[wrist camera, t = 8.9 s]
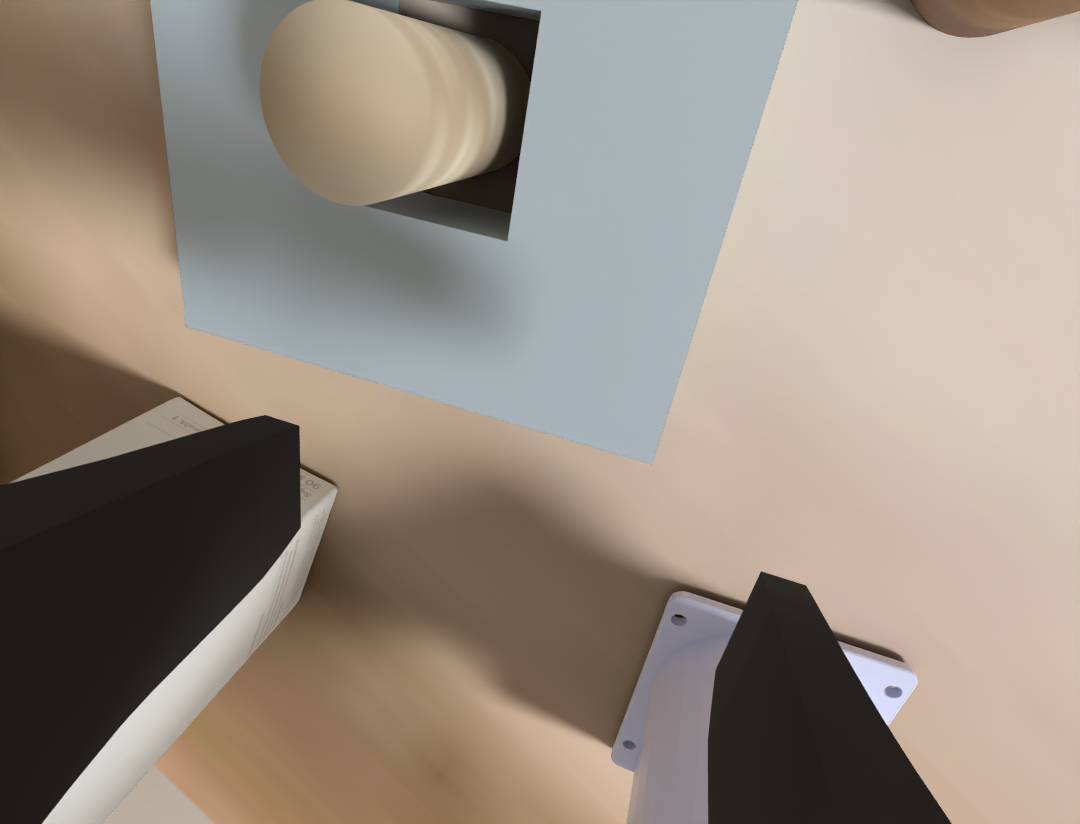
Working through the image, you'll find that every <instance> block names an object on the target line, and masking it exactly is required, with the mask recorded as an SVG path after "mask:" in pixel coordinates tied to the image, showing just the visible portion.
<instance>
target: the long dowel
mask: <svg viewBox="0 0 1080 824" xmlns="http://www.w3.org/2000/svg"><path fill="white" fill-rule="evenodd" d="M530 85H531V84H530V81H529V78H528V76H527V74H526V72H525V70H524V68H523V66H522V65H521V63H520V62H519V61H518V59H517V58H516V57H515V56H514V55H513V54H512V53H511V52H510V51H509V50H508V49H506V48H505V47H504V46H502V45H500V44H499V43H497V42H494V41H492V40H489V39H486V38H482V37H478V36H475V35H471V34H468V33H464V32H460V31H457V30H453V29H450V28H446V27H442V26H439V25H435V24H432V23H428V22H424V21H421V20H417V19H414V18H410V17H407V16H403V15H399V14H396V13H392V12H389V11H385V10H381V9H378V8H374V7H371V6H367V5H363V4H360V3H356V2H352V1H348V0H313V1H310V2H307V3H305V4H303V5H301V6H299V7H297V8H296V9H294V10H293V11H292V12H290V13H289V14H288V15H287V16H286V17H285V18H284V19H283V20H282V21H281V22H280V24H279V25H278V26H277V28H276V29H275V31H274V32H273V34H272V36H271V38H270V40H269V42H268V44H267V47H266V50H265V53H264V57H263V61H262V66H261V74H260V98H261V107H262V111H263V116H264V120H265V124H266V127H267V130H268V133H269V135H270V138H271V140H272V142H273V145H274V146H275V148H276V150H277V152H278V154H279V156H280V157H281V159H282V160H283V162H284V163H285V165H286V166H287V167H288V168H289V170H290V171H291V172H292V173H293V175H294V176H295V177H296V178H297V179H298V180H299V181H300V182H301V183H302V184H304V185H305V186H306V187H308V188H309V189H310V190H311V191H313V192H314V193H316V194H318V195H319V196H321V197H323V198H325V199H328V200H330V201H332V202H336V203H339V204H343V205H350V206H364V205H370V204H374V203H378V202H382V201H385V200H389V199H393V198H396V197H400V196H404V195H408V194H411V193H415V192H419V191H422V190H426V189H430V188H433V187H437V186H441V185H444V184H448V183H452V182H455V181H459V180H463V179H466V178H470V177H474V176H477V175H481V174H485V173H488V172H492V171H495V170H498V169H500V168H502V167H504V166H506V165H507V164H509V163H510V162H511V161H512V160H514V159H515V158H516V157H517V156H518V154H519V153H520V152H521V146H522V139H523V133H524V126H525V119H526V112H527V106H528V99H529V92H530Z"/></svg>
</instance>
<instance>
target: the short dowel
mask: <svg viewBox="0 0 1080 824" xmlns="http://www.w3.org/2000/svg"><path fill="white" fill-rule="evenodd" d="M911 1H912V3H913V5H914V7H915V9H916V11H917V12H918V13H919V14H920V16H921V17H922V18H923V19H924V20H925V21H926V22H927V23H928V24H929V25H931V26H932V27H934V28H935V29H937V30H939V31H941V32H944V33H946V34H949V35H953V36H957V37H967V38H970V37H983V36H989V35H993V34H997V33H1001V32H1004V31H1008V30H1012V29H1015V28H1019V27H1023V26H1026V25H1030V24H1034V23H1037V22H1041V21H1044V20H1048V19H1052V18H1055V17H1059V16H1063V15H1066V14H1070V13H1073V12H1077V11H1080V0H911Z"/></svg>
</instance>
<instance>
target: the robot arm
mask: <svg viewBox="0 0 1080 824" xmlns="http://www.w3.org/2000/svg"><path fill="white" fill-rule="evenodd" d="M300 528H301V496H300V436H299V426H298V425H295V424H292V423H288V422H285V421H282V420H279V419H276V418H273V417H269V416H266V415H264V416H259V417H254V418H249V419H245V420H241V421H237V422H233V423H230V424H226V425H222V426H218V427H215V428H211V429H208V430H204V431H201V432H197V433H194V434H190V435H187V436H183V437H180V438H177V439H173V440H170V441H166V442H163V443H159V444H156V445H152V446H149V447H145V448H142V449H138V450H135V451H131V452H128V453H124V454H121V455H117V456H114V457H110V458H107V459H103V460H99V461H95V462H91V463H87V464H83V465H80V466H76V467H72V468H68V469H64V470H60V471H56V472H52V473H48V474H45V475H41V476H37V477H33V478H29V479H25V480H21V481H17V482H13V483H8V484H4V485H0V824H42V823H43V822H44V820H45V819H46V818H47V817H48V815H49V814H50V813H51V811H52V810H53V809H54V808H55V806H56V805H57V804H58V803H59V801H60V800H61V799H62V797H63V796H64V795H65V794H66V792H67V791H68V790H69V788H70V787H71V786H72V785H73V784H74V782H75V781H76V780H77V779H78V778H79V776H80V775H81V774H82V773H83V771H84V770H85V769H86V768H87V767H88V765H89V764H90V763H91V762H92V760H93V759H94V758H95V757H96V756H97V754H98V753H99V752H100V751H101V750H102V748H103V747H104V746H105V745H106V743H107V742H108V741H109V740H110V739H111V737H112V736H113V735H114V734H115V733H116V731H117V730H118V729H119V728H120V726H121V725H122V724H123V723H124V722H125V721H126V720H127V719H128V717H129V716H130V715H131V714H132V713H133V712H134V711H135V710H136V709H137V708H138V707H139V705H140V704H141V703H142V702H143V701H144V700H145V699H146V698H147V697H148V696H149V695H150V693H151V692H152V691H153V690H154V689H155V688H156V687H157V686H158V685H159V684H160V683H161V682H162V681H163V680H164V679H165V678H166V677H167V676H168V675H169V674H170V673H171V672H172V671H173V670H174V669H175V668H176V667H177V666H178V665H179V664H180V663H181V662H182V661H183V660H184V659H185V658H186V657H187V656H188V655H189V654H190V653H191V652H192V651H193V650H194V649H195V648H196V647H197V646H198V645H199V644H200V643H201V642H202V641H203V640H204V639H205V638H206V637H207V636H208V635H209V634H210V633H211V632H212V631H213V630H214V629H215V628H216V627H217V626H218V624H219V623H220V622H221V621H222V620H223V619H224V618H225V617H226V616H227V615H228V614H229V613H230V612H231V611H232V610H233V609H234V608H235V607H236V606H237V605H238V604H239V603H240V602H241V601H242V600H243V599H244V598H245V597H246V596H247V595H248V594H249V593H250V592H251V590H252V589H253V588H254V587H255V586H256V585H257V584H258V583H259V582H260V581H261V580H262V579H263V578H264V576H265V575H266V574H267V572H268V571H269V570H270V569H271V567H272V566H273V565H274V563H275V562H276V561H277V560H278V558H279V557H280V556H281V554H282V553H283V552H284V550H285V549H286V547H287V546H288V545H289V543H290V542H291V541H292V539H293V538H294V536H295V535H296V534H297V532H298V531H299V529H300ZM676 614H679V615H682V616H684V618H677V617H676V616H674V615H676ZM917 683H918V681H917V677H916V674H915V671H914V669H913V668H912V667H911V666H910V665H908V664H906V663H904V662H901V661H898V660H895V659H892V658H889V657H885V656H882V655H879V654H876V653H873V652H870V651H867V650H864V649H861V648H858V647H855V646H852V645H849V644H846V643H843V642H839V641H837V639H836V638H835V636H834V634H833V632H832V630H831V629H830V627H829V625H828V623H827V622H826V620H825V618H824V616H823V614H822V613H821V611H820V609H819V607H818V606H817V604H816V602H815V600H814V598H813V597H812V595H811V593H810V592H809V590H808V588H807V586H806V585H802V584H799V583H796V582H793V581H790V580H787V579H783V578H780V577H777V576H774V575H771V574H768V573H764V572H761V573H760V575H759V577H758V579H757V581H756V584H755V586H754V588H753V590H752V592H751V594H750V597H749V599H748V601H747V603H746V605H745V607H744V610H741V609H738V608H735V607H732V606H729V605H726V604H723V603H720V602H717V601H714V600H711V599H708V598H705V597H702V596H699V595H695V594H692V593H689V592H685V591H678V592H675V593H673V594H672V595H671V596H670V598H669V600H668V603H667V605H666V608H665V610H664V613H663V616H662V618H661V621H660V624H659V626H658V629H657V632H656V634H655V637H654V640H653V642H652V645H651V648H650V650H649V653H648V655H647V658H646V661H645V663H644V666H643V669H642V671H641V674H640V677H639V679H638V682H637V685H636V687H635V690H634V693H633V695H632V698H631V701H630V703H629V706H628V708H627V711H626V714H625V716H624V719H623V722H622V724H621V727H620V730H619V732H618V735H617V738H616V740H615V743H614V746H613V748H612V754H611V758H612V760H613V762H614V763H615V764H616V765H618V766H620V767H622V768H625V769H627V770H630V771H633V772H634V777H633V784H632V790H631V797H630V804H629V811H628V817H627V824H951V822H950V821H949V819H948V818H947V816H946V815H945V813H944V812H943V810H942V809H941V807H940V806H939V804H938V803H937V801H936V800H935V798H934V797H933V795H932V794H931V792H930V791H929V789H928V788H927V786H926V785H925V784H924V782H923V781H922V779H921V778H920V776H919V775H918V773H917V772H916V770H915V769H914V767H913V765H912V764H911V762H910V761H909V759H908V758H907V756H906V755H905V753H904V751H903V750H902V748H901V747H900V745H899V744H898V742H897V740H896V739H895V737H894V736H893V734H892V732H891V731H890V729H889V728H888V725H889V724H890V722H891V721H892V719H893V718H894V717H895V715H896V714H897V712H898V711H899V710H900V708H901V707H902V705H903V704H904V703H905V701H906V700H907V698H908V697H909V696H910V694H911V693H912V691H913V690H914V689H915V687H916V685H917ZM889 686H896V687H895V688H887V687H889Z"/></svg>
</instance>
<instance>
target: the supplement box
mask: <svg viewBox="0 0 1080 824" xmlns="http://www.w3.org/2000/svg"><path fill="white" fill-rule="evenodd" d="M222 425H225V424H223V423H221V422H220V421H218V420H216V419H215V418H213V417H211V416H210V415H208V414H207V413H205V412H203V411H202V410H200V409H198V408H197V407H195V406H194V405H192V404H191V403H189V402H187V401H186V400H184V399H182V398H181V397H175V398H173V399H171V400H169V401H167V402H165V403H163V404H161V405H159V406H157V407H155V408H153V409H151V410H149V411H147V412H145V413H143V414H142V415H140V416H138V417H136V418H134V419H132V420H130V421H128V422H126V423H124V424H122V425H120V426H118V427H116V428H114V429H112V430H110V431H109V432H107V433H105V434H103V435H101V436H99V437H97V438H95V439H93V440H91V441H89V442H87V443H85V444H83V445H81V446H79V447H77V448H75V449H74V450H72V451H70V452H68V453H66V454H64V455H62V456H60V457H58V458H56V459H55V460H53V461H51V462H49V463H47V464H45V465H43V466H41V467H39V468H37V469H35V470H33V471H31V472H29V473H27V474H25V475H23V476H22V477H20V478H18V479H16V480H14V481H12V482H10V483H13V482H17V481H21V480H25V479H29V478H33V477H37V476H41V475H45V474H48V473H52V472H56V471H60V470H64V469H68V468H72V467H76V466H80V465H83V464H87V463H91V462H95V461H99V460H103V459H107V458H110V457H114V456H117V455H121V454H124V453H128V452H131V451H135V450H138V449H142V448H145V447H149V446H152V445H156V444H159V443H163V442H166V441H170V440H173V439H177V438H180V437H183V436H187V435H190V434H194V433H197V432H201V431H204V430H208V429H211V428H215V427H218V426H222ZM337 490H338V489H337V487H336V486H334V485H332V484H330V483H328V482H326V481H324V480H322V479H320V478H318V477H316V476H314V475H312V474H310V473H308V472H307V471H305V470H303V469H301V468H300V496H301V528H300V529H299V531H298V532H297V534H296V535H295V536H294V538H293V539H292V541H291V542H290V543H289V545H288V546H287V547H286V549H285V550H284V552H283V553H282V554H281V556H280V557H279V558H278V560H277V561H276V562H275V563H274V565H273V566H272V567H271V569H270V570H269V571H268V572H267V574H266V575H265V576H264V578H263V579H262V580H261V581H260V582H259V583H258V584H257V585H256V586H255V587H254V588H253V589H252V590H251V592H250V593H249V594H248V595H247V596H246V597H245V598H244V599H243V600H242V601H241V602H240V603H239V604H238V605H237V606H236V607H235V608H234V609H233V610H232V611H231V612H230V613H229V614H228V615H227V616H226V617H225V618H224V619H223V620H222V621H221V622H220V623H219V624H218V626H217V627H216V628H215V629H214V630H213V631H212V632H211V633H210V634H209V635H208V636H207V637H206V638H205V639H204V640H203V641H202V642H201V643H200V644H199V645H198V646H197V647H196V648H195V649H194V650H193V651H192V652H191V653H190V654H189V655H188V656H187V657H186V658H185V659H184V660H183V661H182V662H181V663H180V664H179V665H178V666H177V667H176V668H175V669H174V670H173V671H172V672H171V673H170V674H169V675H168V676H167V677H166V678H165V679H164V680H163V681H162V682H161V683H160V684H159V685H158V686H157V687H156V688H155V689H154V690H153V691H152V692H151V693H150V695H149V696H148V697H147V698H146V699H145V700H144V701H143V702H142V703H141V704H140V705H139V707H138V708H137V709H136V710H135V711H134V712H133V713H132V714H131V715H130V716H129V717H128V719H127V720H126V721H125V722H124V723H123V724H122V725H121V726H120V728H119V729H118V730H117V731H116V733H115V734H114V735H113V736H112V737H111V739H110V740H109V741H108V742H107V743H106V745H105V746H104V747H103V748H102V750H101V751H100V752H99V753H98V754H97V756H96V757H95V758H94V759H93V760H92V762H91V763H90V764H89V765H88V767H87V768H86V769H85V770H84V771H83V773H82V774H81V775H80V776H79V778H78V779H77V780H76V781H75V782H74V784H73V785H72V786H71V787H70V788H69V790H68V791H67V792H66V794H65V795H64V796H63V797H62V799H61V800H60V801H59V803H58V804H57V805H56V806H55V808H54V809H53V810H52V811H51V813H50V814H49V815H48V817H47V818H46V819H45V820H44V822H43V823H42V824H102V823H103V822H104V821H105V820H106V819H107V818H108V817H109V816H110V814H111V813H112V812H113V811H114V810H115V809H116V808H117V806H118V805H119V804H120V803H121V802H122V801H123V800H124V798H125V797H126V796H127V795H128V794H129V793H130V792H131V791H132V789H133V788H134V787H135V786H136V785H137V784H138V783H139V781H140V780H141V779H142V778H143V777H144V776H145V775H146V774H147V772H148V771H149V770H150V769H151V768H152V767H153V766H154V765H155V763H156V762H157V761H158V760H159V759H160V758H161V757H162V756H163V754H164V753H165V752H166V751H167V750H168V749H169V748H170V746H171V745H172V744H173V743H174V742H175V741H176V740H177V739H178V737H179V736H180V735H181V734H182V733H183V732H184V731H185V729H186V728H187V727H188V726H189V725H190V724H191V723H192V722H193V720H194V719H195V718H196V717H197V716H198V715H199V714H200V712H201V711H202V710H203V709H204V708H205V707H206V706H207V705H208V703H209V702H210V701H211V700H212V699H213V698H214V697H215V695H216V694H217V693H218V692H219V691H220V690H221V689H222V687H223V686H224V685H225V684H226V683H227V682H228V681H229V680H230V678H231V677H232V676H233V675H234V674H235V673H236V672H237V671H238V669H239V668H240V667H241V666H242V665H243V664H244V663H245V662H246V660H247V659H248V658H249V657H250V656H251V655H252V654H253V652H254V651H255V650H256V649H257V648H258V647H259V646H260V645H261V643H262V642H263V641H264V640H265V639H266V638H267V637H268V636H269V634H270V633H271V632H272V631H273V630H274V629H275V628H276V627H277V625H278V624H279V623H280V622H281V621H282V620H283V619H284V618H285V616H286V615H287V614H288V613H289V612H290V611H291V610H292V608H293V607H294V606H295V605H296V604H297V602H298V601H299V599H300V596H301V593H302V590H303V588H304V585H305V583H306V579H307V577H308V574H309V571H310V568H311V565H312V563H313V560H314V557H315V554H316V551H317V549H318V546H319V543H320V540H321V537H322V535H323V532H324V529H325V526H326V523H327V521H328V517H329V514H330V511H331V509H332V507H333V503H334V500H335V497H336V494H337Z"/></svg>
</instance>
